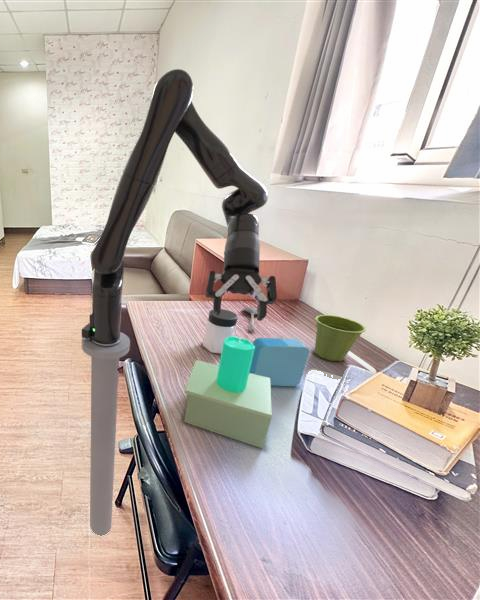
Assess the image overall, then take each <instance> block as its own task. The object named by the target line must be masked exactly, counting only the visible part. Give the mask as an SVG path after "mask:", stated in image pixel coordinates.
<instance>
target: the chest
mask: <svg viewBox="0 0 480 600" xmlns="http://www.w3.org/2000/svg"><path fill="white" fill-rule="evenodd" d="M184 414H185V415H184V420H183V422H184V423H186V424H189V425H192V426H195V427H197V428H200V429H204V430H207V431H209V432H212V433H214V434H215V433H216V434H219V435H221V436H224V437H227V438H231V439H233V440H236V441H239V442H242V443H245V444H248V445H251V446H254V447H256V448H259V449H263V448H264V445H265V441H266V438H267V435H268V430H269V427H270V425H271V419H272V417H271V418H268V417H264V416H261V415H258V414H254V413H251V412H247V411H244V410H241V409H237V408H234V407H230V406H227V405H224V404H220V403H217V402H214V401H210V400H207V399H203V398H200V397H197V396H193V395H190V394H187V401H186V408H185V413H184Z"/></svg>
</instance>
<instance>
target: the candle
mask: <svg viewBox="0 0 480 600" xmlns="http://www.w3.org/2000/svg"><path fill="white" fill-rule="evenodd" d="M254 350H255V346H254V345H253V342H251V341H250V340H249V339H246V338H242V336H240V337H237V336H235V337H234V336H231V337H227V338H226V339H225V340H224V342H223V348H222V353H221V354H220V359H219V363H218V365H219V369H218V374H217V384H218V385H219V386H220V387H221V388H223V389H225V390H227V391H230V392H236V393H237V392H243V391H244V390H245V389H246V385H247V381H248V376H249V372H250V368H251V363H252V359H253V355H254Z"/></svg>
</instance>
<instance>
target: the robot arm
mask: <svg viewBox="0 0 480 600" xmlns="http://www.w3.org/2000/svg"><path fill="white" fill-rule="evenodd" d="M194 88H195V87H194V82H193V79H192V77H191V75H190V74H189V73H188V72H187V71H186V70H183V69H182V68H181V69H180V68H175V69H170V70H169V71H167V72H165V73H164V74H163V75H161V77H160V78H159V79H158V80H157V82H155V85H154V88H153V90H152V95H151V100H150V104H149V107H148V111H147V115H146V118H145V121H144V124H143V126H142V127H143V128H142V130H141V132H140V135H139V137H138V139H137V141H136V143H135V145H134V147H133V149H132V151H131V152H130V155H129V157H128V160H127V162H126V163H125V166H124V168H123V171H122V174H121V175H120V179H119V181H118V183H117V187H116V190H115V193H114V195H113V199H112V202H111V206H110V209H109V212H108V217H107V220H106V223H105V226H104V228H103V231H102V232H101V235H100V237H99V239H98V240H97V242H96V244H95V246H94V248H93V249H92V252H91V255H90V261H91V265H92V268H93V269H94V270H93V272H94V273H93V279H92V287H91V288H92V289H91V290H92V291H91V293H92V294H91V295H92V296H91V297H92V298H91V300H92V301H91V305H92V306H91V313H90V314H89V322H88V323H87V324H86V325H85V326H84V327H82V328H81V338H82V337H83V338H86V339H89V338H90V340H89V341H91V342H93V343H94V344H95V345H97V346H100V347H113V346H116V345H118V344H119V343H120V332H121V325H122V324H121V323H122V299H123V285H124V273H125V255H126V254H125V253H126V252H125V251H126V248H127V245H128V242H129V240H130V238H131V237H130V236H131V234H132V232H133V231H134V228H135V227H136V225H137V223H138V222H139V220H140V218H141V216H142V214H143V213H144V211H145V210H146V209H145V208H146V207H147V204H148V203H149V201H150V198H151V196H152V194H153V191H154V189H155V186H156V185H157V181H158V178H159V176H160V174H161V170H162V168H163V165H164V161H165V159H166V155H167V152H168V150H169V149H168V148H169V146H170V143H171V141H172V140H173V139H172V138H173V136H174V134H176V136H178V138H179V139H180V140H181V141H182V142H183V143H184V145H185V146H186V147H187V149H188V150H189V152H190V153H191V155H192V156H193V158H195V161H196V162H197V164H198V165H199V166H200V168H201V169H202V171H203V172H204V173H205V175H206V176H207V178H208V179H209V181H210V182H211V184H212V185H213V186H214V187H215V188H216V189H218V190H221V189H225V188H227V187H234V188H236V189H235V190H233V191H231V192H229V193H228V194H226V195H225V196H224V198H223V199H222V202H221V210H222V213H223V216H224V220H225V224H226V229H227V230H226V240H225V243H224V251H223V269H222V273H216V271H215V270H211V271H209V274H208V279H207V284H206V290H205V297H206V298H210V299H212V300H213V302H212V303H213V304H212V310H213V312H214V313H216V315H220V311H221V309H222V297H224V296H226V295H227V293H231V294H234V295H236V294H241V295H245V296H246V295H249V297H251V299H253V300H254V301H255V302H256V303H257V307H256V309H257V314H256V320H257V321H258V322H259V321H260V322H261V321H263V319H265V318H266V316H267V313H268V307H267V306H268V305H273V304H274V303H275V301H276V300H277V299H278V293H277V281H276V280H277V279H276V277H275V275H270V276H269V277H262V276H261V274H260V255H261V253H260V252H261V250H260V249H261V248H260V247H261V244H260V239H259V237H260V234H259V233H260V222H259V218H258V217H257V216H256V215H255V214H252V212H254V211H257V210H258V209H261V208H262V207H263V206H265V205H266V204H267V203H268V199H269V193H268V190H267V188H266V186H265V185H264V184H263V182H261V181H260V180H258V179H257V178H256V177H254V176H253V175H252V174H250V173H249V172H247V170H246V169H244V168H243V167H242V166H241V165H240V164H239V162H238V161H237V160H236V158H235V156H234V155H233V154H232V152H231V151H230V150H229V148H228V147H227V145H225V143H224V142H223V141H222V140H221V139H220V137H218V136H217V135H216V134H215V133H214V132H213V131H212V130H211V129H210V128H209V127H208V126H207V124H206V123H205V122H204V121H203V119H202V117H201V116H200V115H199V113H198V111H197V110H196V107H195V105H194V103H193V101H192V100H193V98H194V92H195V91H194V90H195V89H194ZM218 280H220V282H221V283H222V284H223V285H222V286H221V287H220V288H219V289H217V291H215V290H214V285H215V283H217V282H218ZM260 284H262V285H263V287H264V288H265V289H266V295H265V294H264V292H263V290H262V288H261V287H260Z"/></svg>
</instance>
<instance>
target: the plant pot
mask: <svg viewBox="0 0 480 600" xmlns="http://www.w3.org/2000/svg"><path fill="white" fill-rule="evenodd" d="M314 319H315V321H316V333H315V345H314V353H315V354H316V355H317V356H318V357H319V358H322V359H324V360H327V361H330V362H336V361H338V362H342V361H344V360H345V358H346V356H347V354H348V353H349V352H350V350H351V349H352V347H353V345H354V344H355V342H356V341H357V340H358V338H360V337H361V335H362V333H365V332H366V331H367V327H365V326H364V325H363V324H362V323H360V322H359V321H355V320H353V319H349V318H347V317H342V316H337V315H331V314H320V315H317V316H315V318H314Z"/></svg>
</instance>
